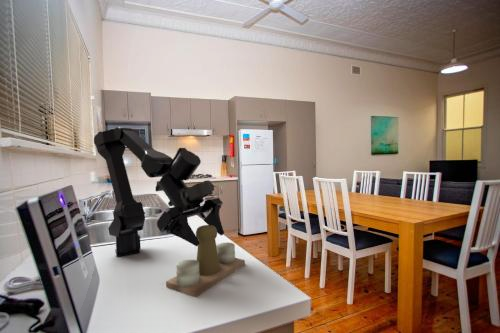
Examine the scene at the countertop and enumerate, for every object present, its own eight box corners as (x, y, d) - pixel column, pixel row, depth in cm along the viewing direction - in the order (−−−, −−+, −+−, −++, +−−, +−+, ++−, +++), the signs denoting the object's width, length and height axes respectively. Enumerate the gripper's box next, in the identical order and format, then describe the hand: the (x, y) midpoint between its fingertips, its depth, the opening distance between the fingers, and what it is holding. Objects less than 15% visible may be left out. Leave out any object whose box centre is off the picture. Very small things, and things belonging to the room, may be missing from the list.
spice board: (166, 286, 60) (165, 264, 59) (218, 258, 76) (218, 240, 75) (195, 297, 55) (194, 272, 55) (244, 264, 71) (244, 245, 71)
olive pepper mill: (221, 264, 68) (220, 222, 68) (218, 275, 62) (216, 229, 62) (198, 265, 68) (197, 223, 68) (192, 275, 62) (191, 229, 62)
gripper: (163, 173, 59) (202, 228, 53) (216, 169, 74) (250, 211, 69) (142, 205, 63) (176, 259, 58) (196, 195, 79) (227, 236, 73)
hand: (211, 239), depth 64 cm, fingers open, 9 cm apart
